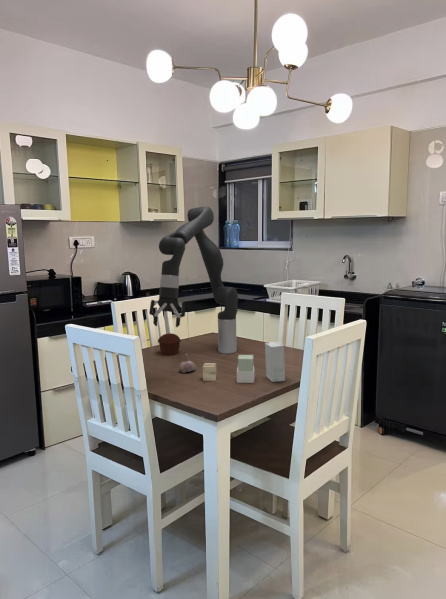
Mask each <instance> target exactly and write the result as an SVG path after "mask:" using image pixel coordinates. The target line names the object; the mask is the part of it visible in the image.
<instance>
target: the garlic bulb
mask: <svg viewBox="0 0 446 599" xmlns="http://www.w3.org/2000/svg"><path fill="white" fill-rule="evenodd" d="M185 359H186V360H185V361H182V362H181V363H180V364H179V366H178V368H179V371H180V372H181V373H182V374H185V373H189V372H191V371H195V370H196V369H197V365H196V364H195V363H194V362H193V361H191V360H190V358H189V356H188V353H185Z"/></svg>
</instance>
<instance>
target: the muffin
mask: <svg viewBox="0 0 446 599" xmlns="http://www.w3.org/2000/svg"><path fill="white" fill-rule="evenodd" d="M181 341H182V340H181V338H180V336H179V335H177V334H175V333H172V332H171V333H170V332H169V333H164V334H162V335H161V336H160V337H159V338H158V340H157V342H158V344H159V349H160V354H161V355H163V356H165V357H166V356H168V357H169V356H170V357H171V356H176V355H178V354H179V353H180V352H179V350H180V344H181Z"/></svg>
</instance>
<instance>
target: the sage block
mask: <svg viewBox="0 0 446 599" xmlns="http://www.w3.org/2000/svg"><path fill="white" fill-rule="evenodd" d="M253 366H254V354H238V357H237V367H238V371H253Z"/></svg>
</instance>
